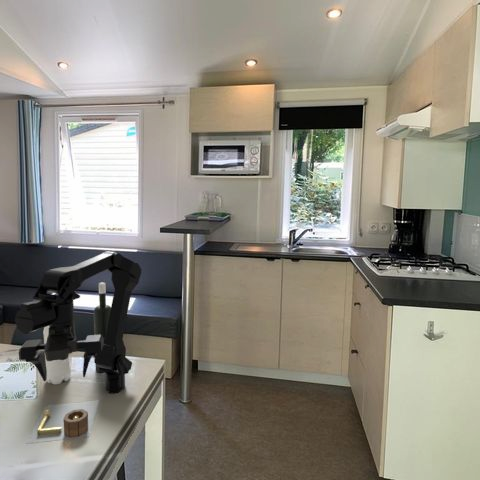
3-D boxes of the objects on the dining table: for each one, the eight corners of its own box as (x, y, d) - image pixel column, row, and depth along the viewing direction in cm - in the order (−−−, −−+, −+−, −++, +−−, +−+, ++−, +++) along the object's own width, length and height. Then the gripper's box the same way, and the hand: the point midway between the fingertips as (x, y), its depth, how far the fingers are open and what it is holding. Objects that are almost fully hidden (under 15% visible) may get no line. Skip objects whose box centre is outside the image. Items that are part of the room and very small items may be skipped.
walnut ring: (67, 425, 95) (67, 410, 94) (89, 423, 96) (88, 408, 95) (62, 438, 90) (61, 422, 89) (85, 435, 91) (84, 420, 90)
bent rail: (45, 416, 98) (45, 409, 98) (68, 414, 99) (68, 407, 99) (36, 435, 90) (35, 428, 90) (60, 432, 92) (60, 425, 91)
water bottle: (40, 385, 115) (36, 306, 112) (58, 374, 122) (54, 300, 119) (58, 389, 113) (54, 309, 110) (76, 378, 120) (73, 302, 117)
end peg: (74, 429, 93) (73, 416, 93) (80, 428, 93) (79, 415, 93) (72, 432, 92) (72, 419, 91) (78, 431, 92) (78, 418, 92)
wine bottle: (95, 367, 127) (92, 281, 124) (112, 364, 130) (110, 280, 126) (96, 374, 122) (93, 285, 118) (114, 371, 125) (112, 284, 121)
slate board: (46, 408, 103) (46, 405, 103) (99, 403, 106) (99, 400, 106) (26, 446, 88) (25, 443, 88) (89, 439, 90) (89, 436, 90)
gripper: (8, 335, 83) (13, 400, 85) (97, 328, 88) (100, 390, 90) (24, 318, 94) (28, 376, 96) (102, 313, 98) (104, 368, 100)
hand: (65, 378), depth 95 cm, fingers open, 9 cm apart
